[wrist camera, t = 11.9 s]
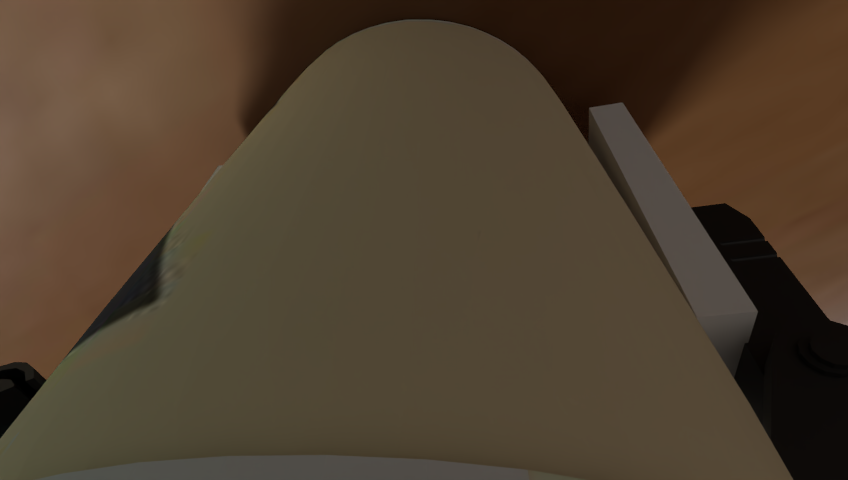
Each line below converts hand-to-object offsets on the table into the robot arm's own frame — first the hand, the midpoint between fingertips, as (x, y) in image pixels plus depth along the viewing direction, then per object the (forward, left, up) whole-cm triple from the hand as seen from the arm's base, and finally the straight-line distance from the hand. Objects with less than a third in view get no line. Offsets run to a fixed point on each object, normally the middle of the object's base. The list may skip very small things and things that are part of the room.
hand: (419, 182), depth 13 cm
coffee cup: (0, 0, -1) cm, 1 cm away
